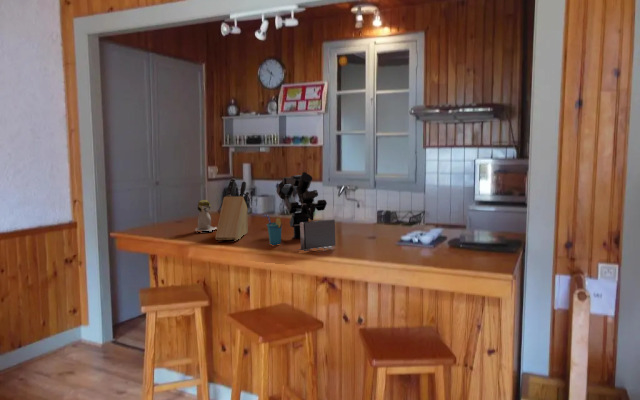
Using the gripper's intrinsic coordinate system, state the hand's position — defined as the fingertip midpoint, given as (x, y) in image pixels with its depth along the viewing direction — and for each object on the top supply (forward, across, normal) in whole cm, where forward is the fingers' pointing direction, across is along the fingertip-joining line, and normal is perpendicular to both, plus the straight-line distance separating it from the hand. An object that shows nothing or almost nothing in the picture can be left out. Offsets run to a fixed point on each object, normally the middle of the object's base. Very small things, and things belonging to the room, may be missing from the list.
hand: (312, 219), depth 234 cm
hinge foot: (+16, -9, +2) cm, 18 cm away
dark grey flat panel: (+15, -2, +1) cm, 15 cm away
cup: (+1, -17, +17) cm, 24 cm away
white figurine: (-38, -42, +56) cm, 79 cm away
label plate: (+15, 0, +3) cm, 15 cm away
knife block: (-21, -30, +40) cm, 54 cm away
